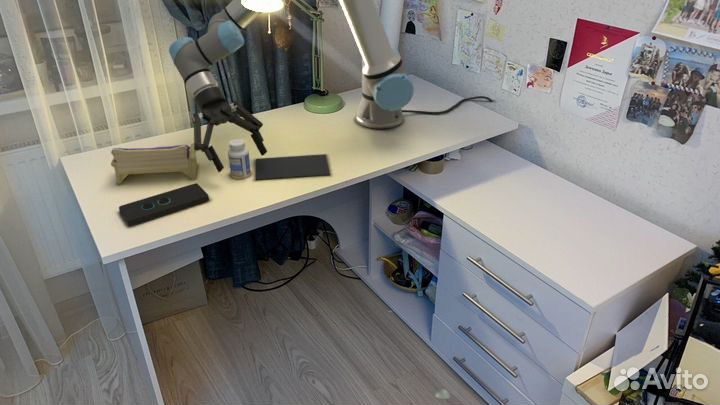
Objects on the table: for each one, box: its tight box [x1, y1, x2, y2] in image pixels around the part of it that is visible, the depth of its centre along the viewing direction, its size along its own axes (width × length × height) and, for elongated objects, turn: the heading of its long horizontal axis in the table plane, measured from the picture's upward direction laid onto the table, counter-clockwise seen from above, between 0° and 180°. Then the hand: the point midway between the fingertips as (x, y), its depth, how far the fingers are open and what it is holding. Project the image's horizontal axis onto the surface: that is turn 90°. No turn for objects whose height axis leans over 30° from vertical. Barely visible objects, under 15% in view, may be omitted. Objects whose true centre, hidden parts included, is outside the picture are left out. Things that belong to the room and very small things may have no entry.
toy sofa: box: [110, 142, 198, 184], centre depth 151 cm, size 21×9×10 cm, turn 99°
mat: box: [255, 153, 331, 181], centre depth 157 cm, size 20×12×1 cm, turn 99°
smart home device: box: [118, 182, 210, 227], centre depth 139 cm, size 8×2×20 cm
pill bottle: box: [227, 138, 252, 180], centre depth 151 cm, size 5×5×10 cm
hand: (243, 161), depth 150 cm, fingers open, 13 cm apart
